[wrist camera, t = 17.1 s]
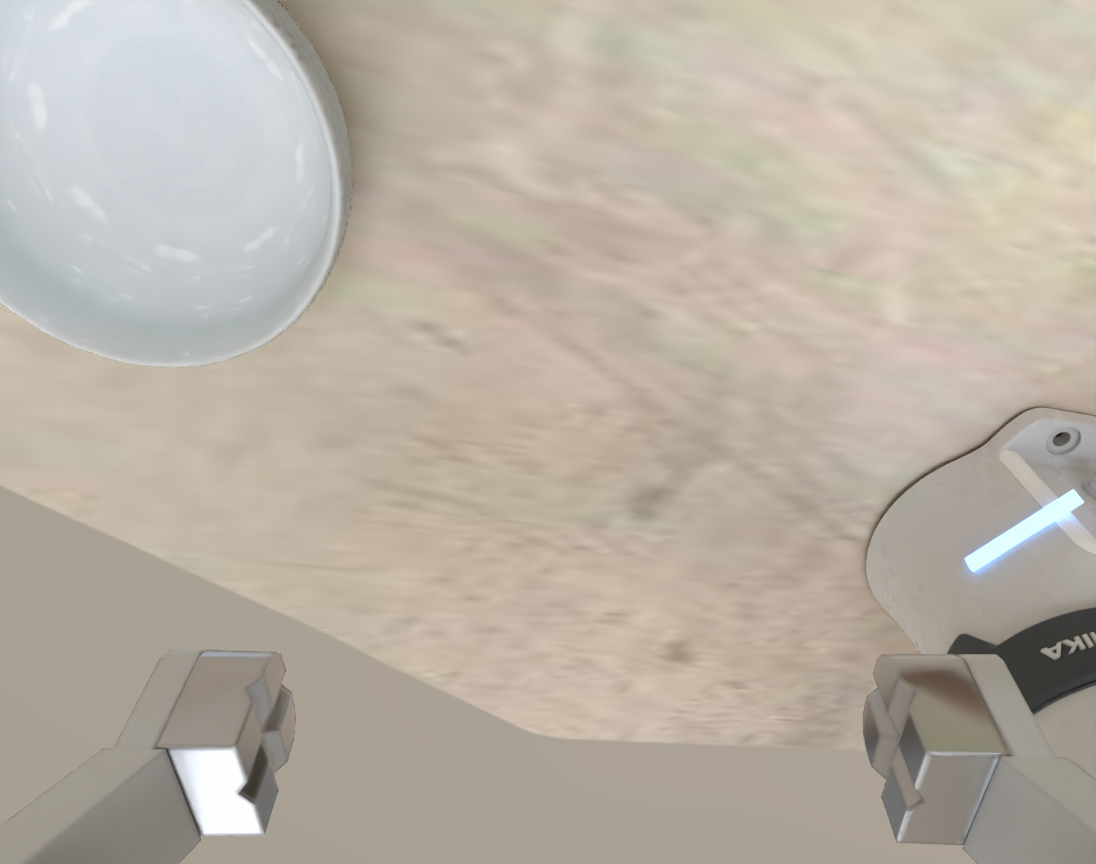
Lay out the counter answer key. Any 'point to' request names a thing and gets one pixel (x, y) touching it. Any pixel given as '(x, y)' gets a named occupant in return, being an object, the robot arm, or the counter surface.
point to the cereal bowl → (166, 175)
